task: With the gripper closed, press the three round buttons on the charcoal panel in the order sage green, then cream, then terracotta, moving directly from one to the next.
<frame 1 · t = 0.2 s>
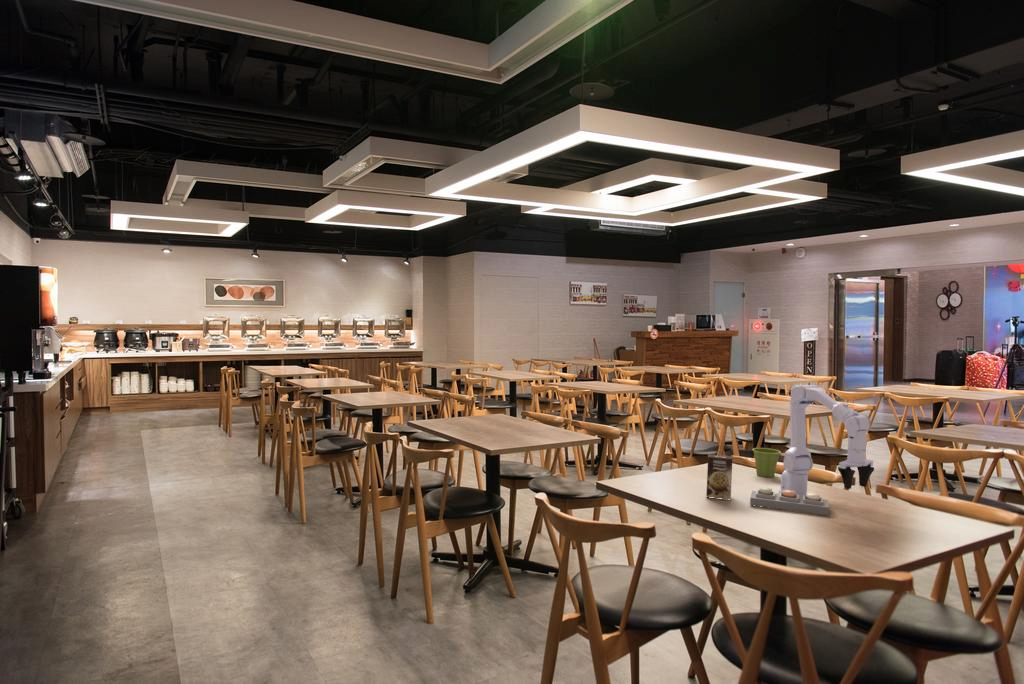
hand: (855, 487, 226), 10 cm above the table, tool pointing down, fingers open, 7 cm apart
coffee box: (718, 498, 245), on the table
button panel: (788, 506, 235), on the table
terracotta button: (789, 493, 234), point 5 cm above the table, slide at 0.0 cm
plant pot: (765, 476, 283), on the table
cream button: (813, 496, 231), point 5 cm above the table, slide at 0.0 cm
sage button: (765, 490, 238), point 5 cm above the table, slide at 0.0 cm
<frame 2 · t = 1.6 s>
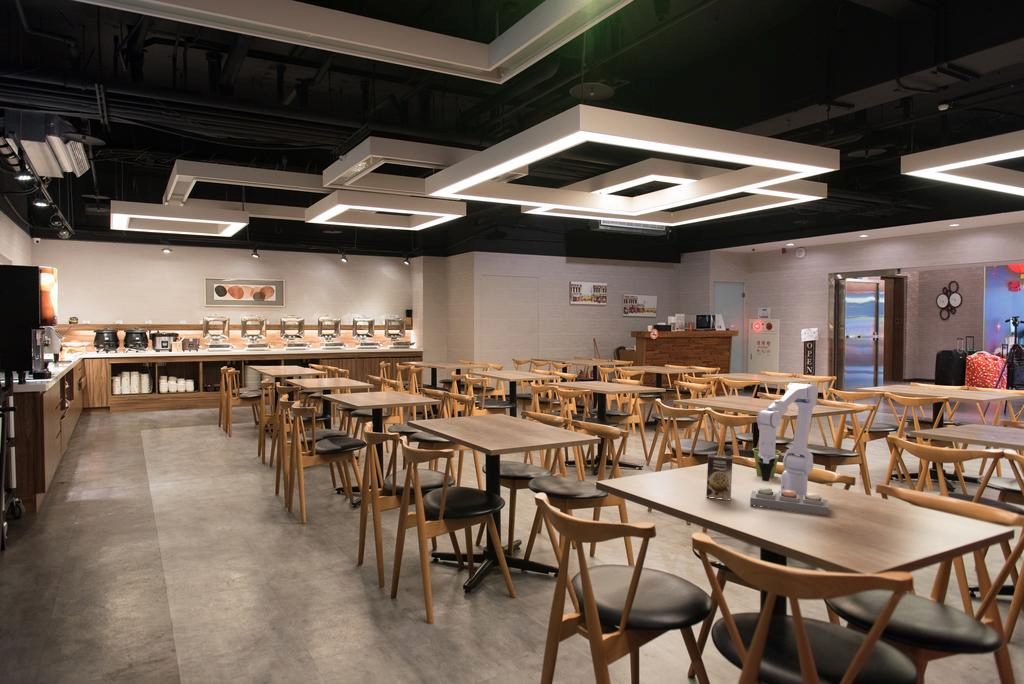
hand: (766, 478, 237), 9 cm above the table, tool pointing down, fingers open, 6 cm apart
nothing on the table moved.
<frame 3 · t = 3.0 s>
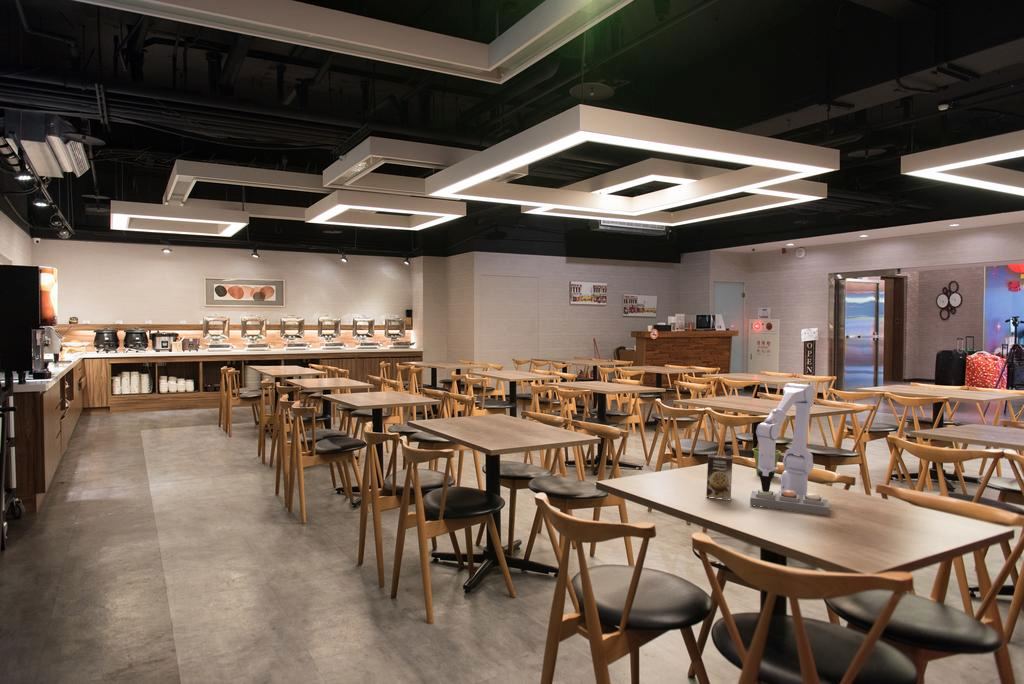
hand: (765, 491, 238), 5 cm above the table, tool pointing down, fingers closed, pressing on sage button
sage button: (765, 493, 238), point 4 cm above the table, slide at 0.9 cm, touching gripper
everything else where it was.
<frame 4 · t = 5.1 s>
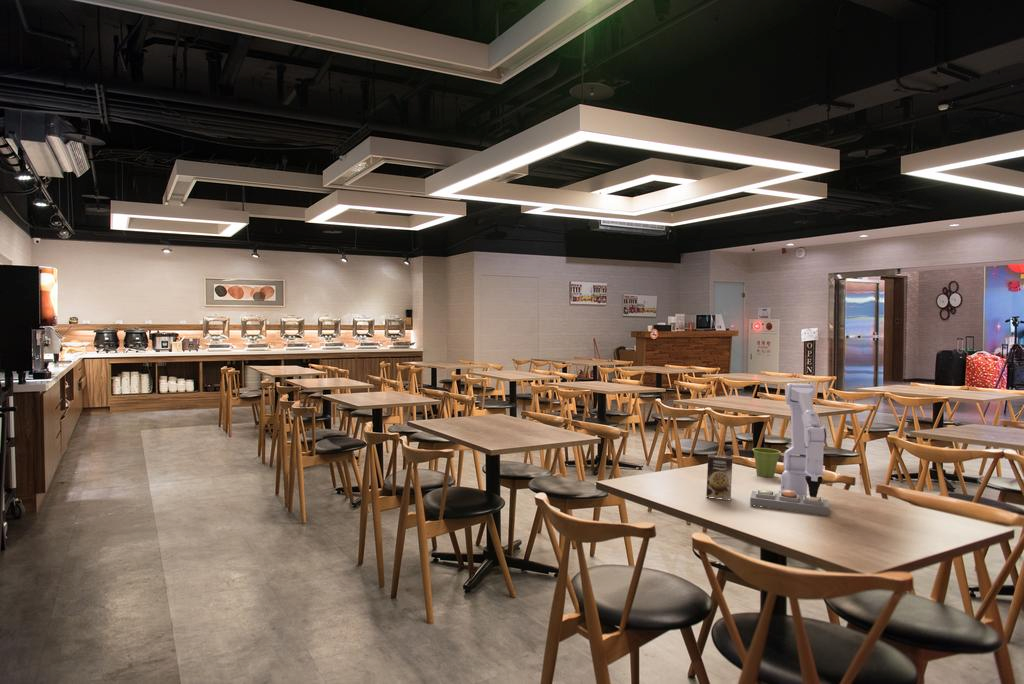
hand: (813, 496, 231), 5 cm above the table, tool pointing down, fingers closed, pressing on cream button
cream button: (812, 498, 231), point 4 cm above the table, slide at 0.8 cm, touching gripper
sage button: (765, 493, 238), point 4 cm above the table, slide at 0.9 cm
everything else where it was.
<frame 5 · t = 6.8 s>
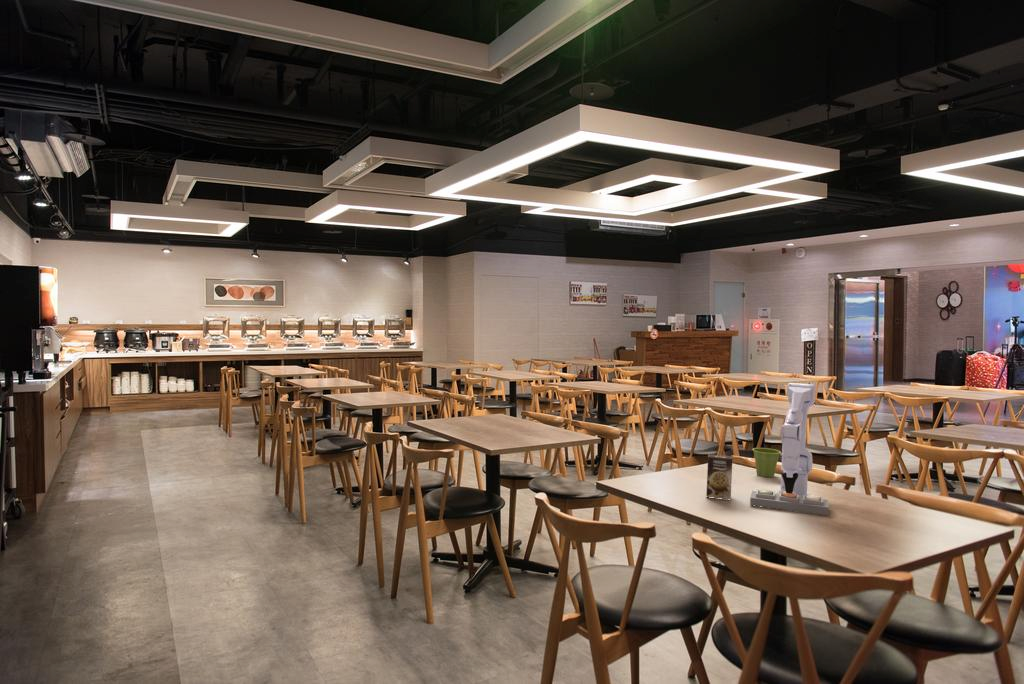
hand: (789, 492, 234), 5 cm above the table, tool pointing down, fingers closed, pressing on terracotta button
terracotta button: (789, 494, 234), point 5 cm above the table, slide at 0.5 cm, touching gripper
cream button: (812, 498, 231), point 4 cm above the table, slide at 0.9 cm
everything else where it was.
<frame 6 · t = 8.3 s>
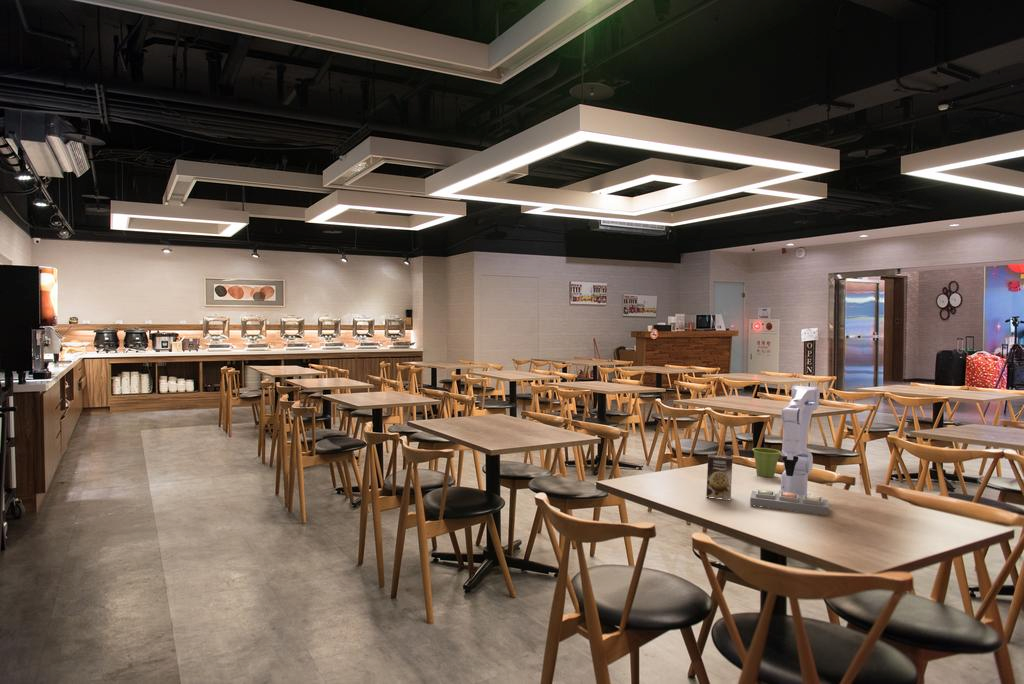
hand: (789, 475, 239), 10 cm above the table, tool pointing down, fingers closed
terracotta button: (788, 496, 234), point 4 cm above the table, slide at 0.9 cm
everything else where it was.
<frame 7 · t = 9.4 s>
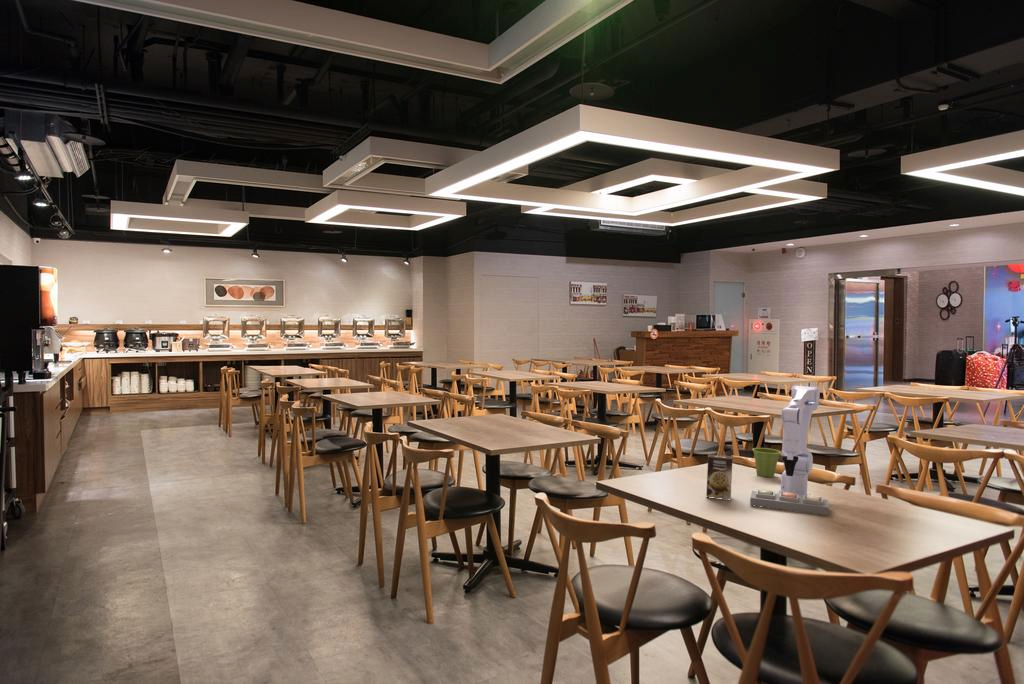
hand: (789, 475, 239), 10 cm above the table, tool pointing down, fingers closed
nothing on the table moved.
at the end: sage button slide at 0.9 cm; cream button slide at 0.9 cm; terracotta button slide at 0.9 cm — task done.
